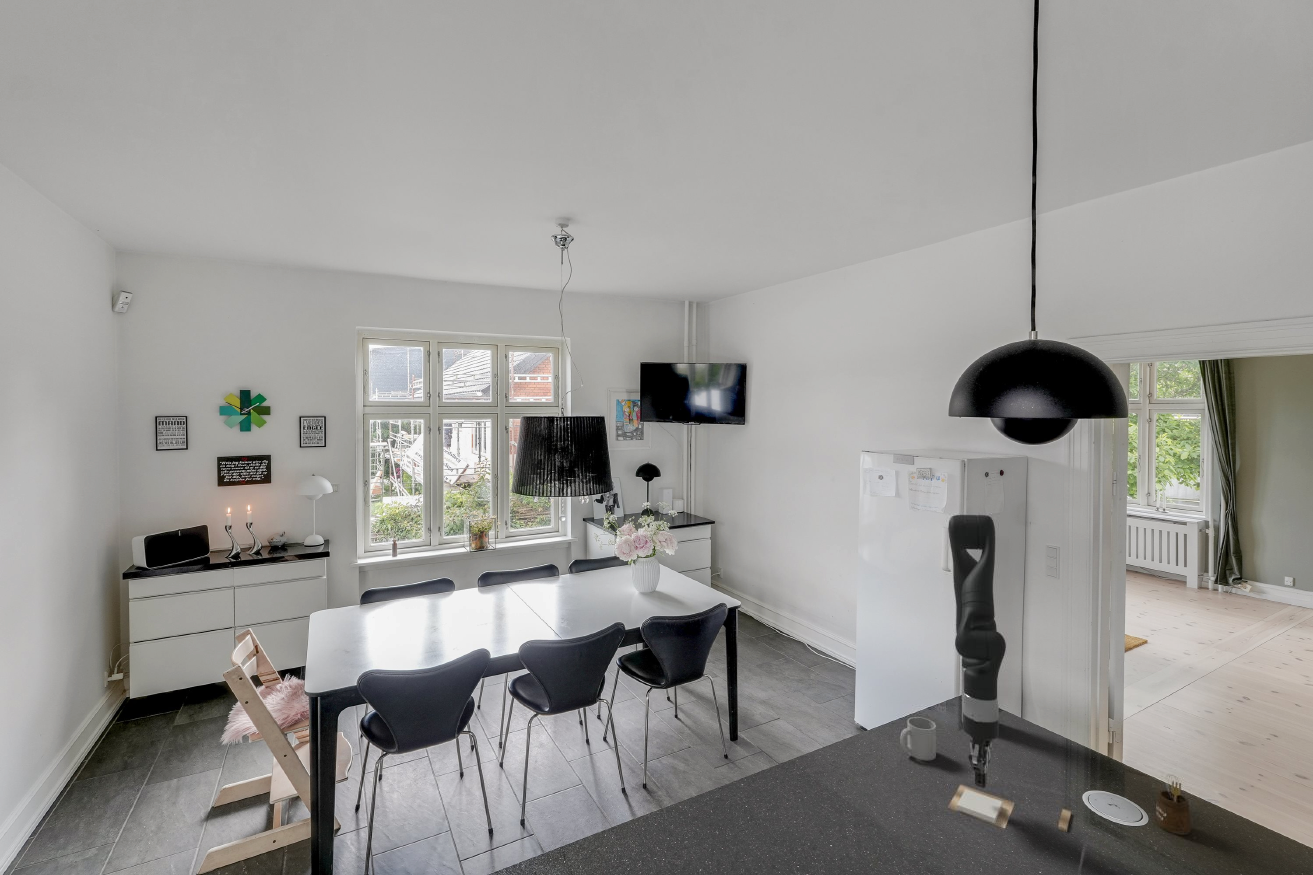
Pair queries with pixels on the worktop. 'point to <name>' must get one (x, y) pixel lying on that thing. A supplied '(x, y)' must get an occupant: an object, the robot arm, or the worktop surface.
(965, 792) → the tile
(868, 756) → the worktop surface
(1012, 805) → the board
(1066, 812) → the tan tapered flat part
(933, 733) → the cup
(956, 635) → the robot arm
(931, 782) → the worktop surface
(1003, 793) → the worktop surface
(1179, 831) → the utensil holder
